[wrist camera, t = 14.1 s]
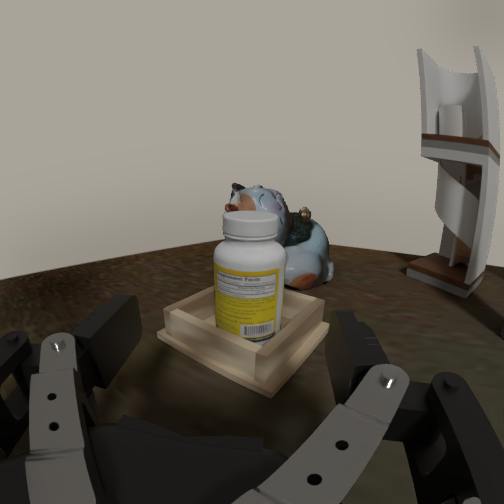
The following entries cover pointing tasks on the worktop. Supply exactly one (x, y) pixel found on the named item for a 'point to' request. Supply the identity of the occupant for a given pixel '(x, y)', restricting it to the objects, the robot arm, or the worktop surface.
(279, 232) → the lucky cat figurine
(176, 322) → the birch dock
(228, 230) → the supplement bottle
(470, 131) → the white shelf stand
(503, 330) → the beverage cup
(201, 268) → the worktop surface
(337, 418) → the robot arm
